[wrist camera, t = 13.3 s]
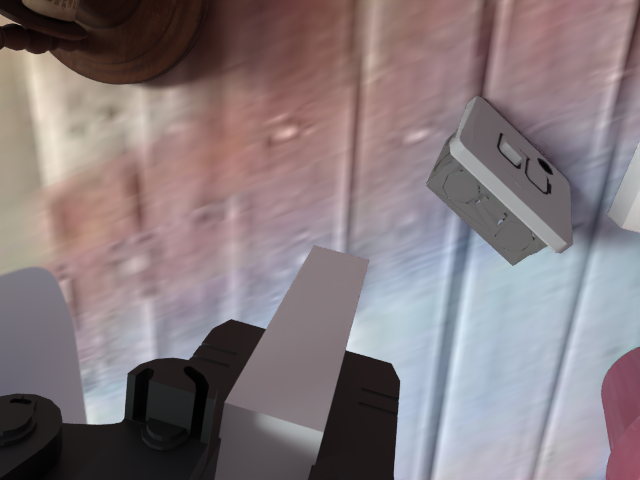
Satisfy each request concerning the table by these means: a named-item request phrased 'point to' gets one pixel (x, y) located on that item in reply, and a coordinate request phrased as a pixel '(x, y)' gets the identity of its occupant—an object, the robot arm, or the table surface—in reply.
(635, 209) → the switch panel
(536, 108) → the table surface
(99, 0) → the brown spool stand
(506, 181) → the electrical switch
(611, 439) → the plant pot
